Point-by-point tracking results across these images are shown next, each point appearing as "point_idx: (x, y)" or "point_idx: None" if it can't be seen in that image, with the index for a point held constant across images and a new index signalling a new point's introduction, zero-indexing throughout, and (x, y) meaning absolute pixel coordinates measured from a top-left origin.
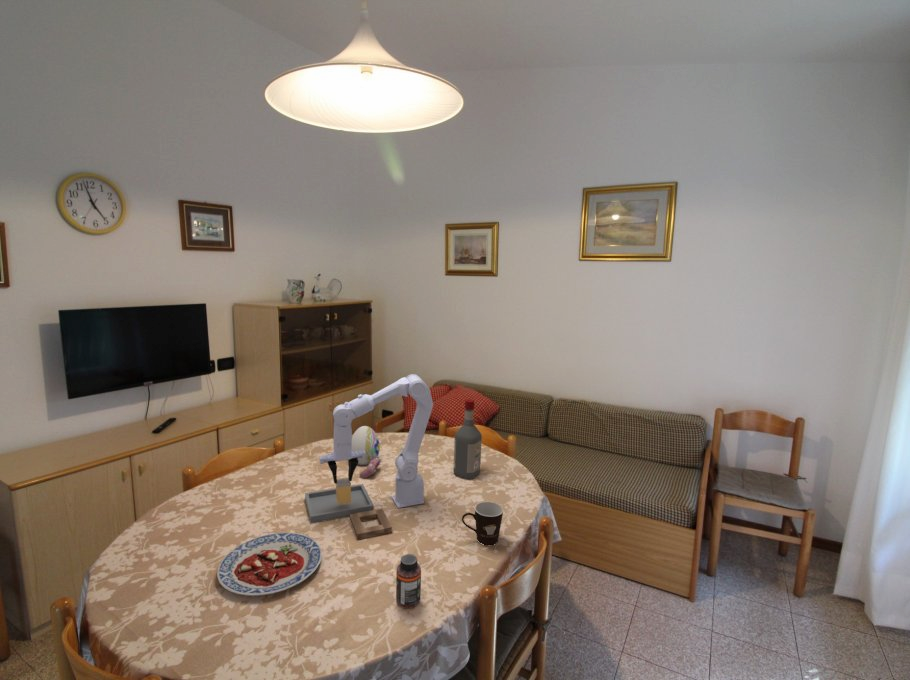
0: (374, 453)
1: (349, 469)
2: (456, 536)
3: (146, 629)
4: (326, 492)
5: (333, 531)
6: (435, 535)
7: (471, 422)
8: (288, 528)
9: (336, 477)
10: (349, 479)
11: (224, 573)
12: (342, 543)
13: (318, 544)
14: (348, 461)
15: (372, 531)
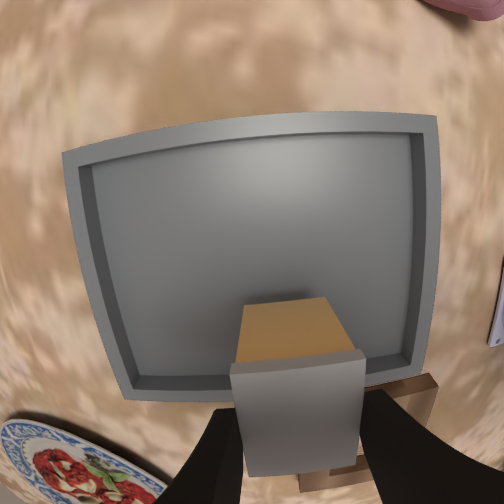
0: None
1: (400, 485)
2: (497, 451)
3: (11, 485)
4: (187, 145)
5: None
6: (473, 455)
7: None
8: (67, 380)
9: (237, 502)
10: (362, 437)
11: (29, 477)
12: (252, 482)
13: None
14: None
15: (347, 484)
